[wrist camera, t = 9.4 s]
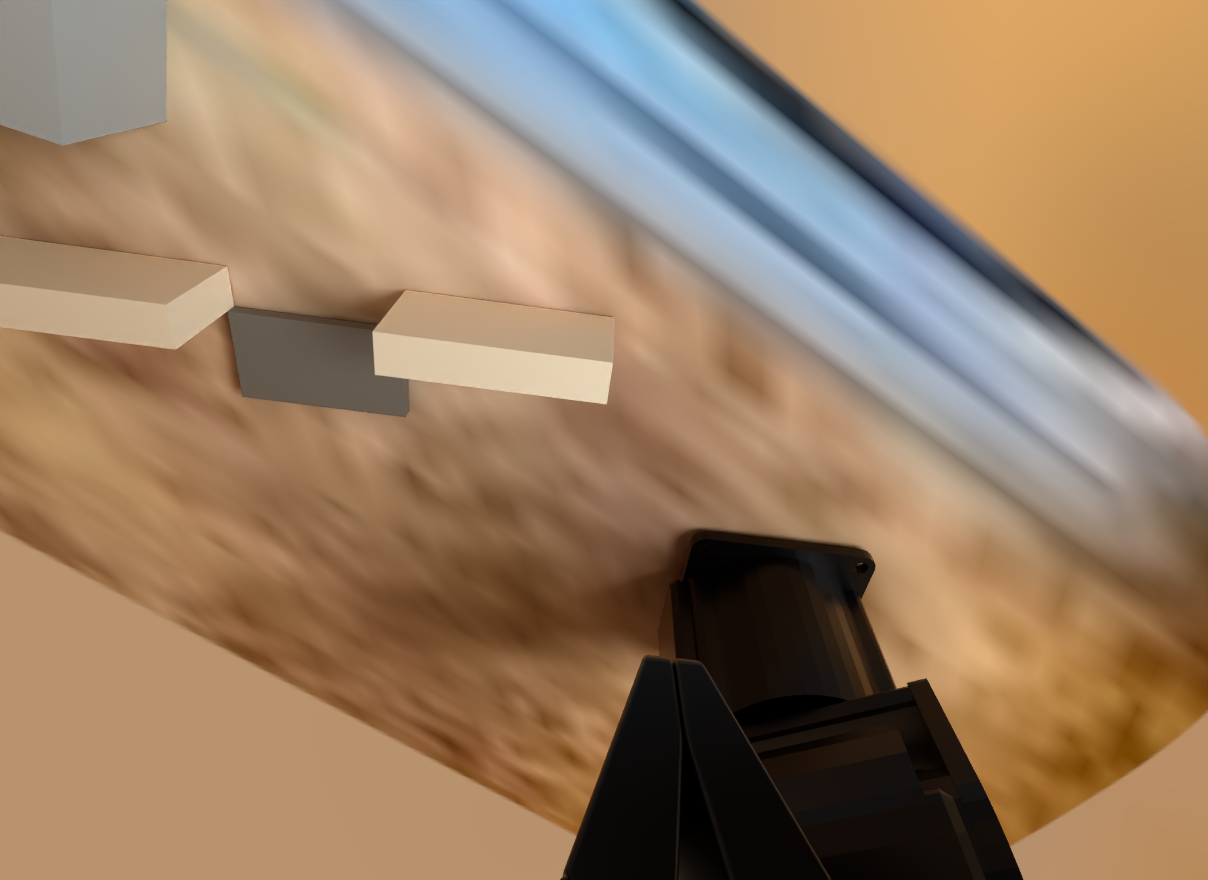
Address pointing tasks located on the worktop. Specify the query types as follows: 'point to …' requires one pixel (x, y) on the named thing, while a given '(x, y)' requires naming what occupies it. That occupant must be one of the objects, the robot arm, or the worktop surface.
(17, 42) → the slate block
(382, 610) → the worktop surface
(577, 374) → the trap lane
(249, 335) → the block
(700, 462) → the worktop surface
